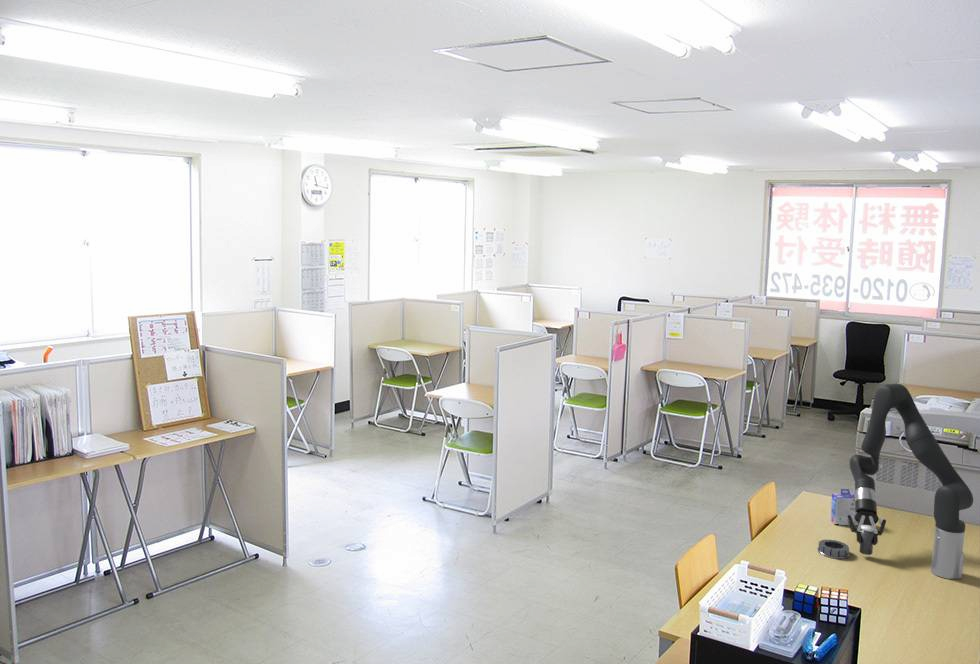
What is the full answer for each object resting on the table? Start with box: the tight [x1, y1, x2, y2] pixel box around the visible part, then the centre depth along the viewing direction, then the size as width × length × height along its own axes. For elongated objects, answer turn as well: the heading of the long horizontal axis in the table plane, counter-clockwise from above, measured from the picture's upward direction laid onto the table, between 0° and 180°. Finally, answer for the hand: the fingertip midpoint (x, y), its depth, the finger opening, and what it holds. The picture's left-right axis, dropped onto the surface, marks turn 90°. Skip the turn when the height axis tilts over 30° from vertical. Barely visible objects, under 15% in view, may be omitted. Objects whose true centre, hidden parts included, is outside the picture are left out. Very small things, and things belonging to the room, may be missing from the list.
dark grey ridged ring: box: [817, 539, 850, 560], centre depth 298 cm, size 11×11×3 cm
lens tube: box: [859, 525, 875, 556], centre depth 294 cm, size 5×5×10 cm
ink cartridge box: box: [830, 488, 859, 526], centre depth 328 cm, size 10×6×14 cm, turn 89°
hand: (867, 543), depth 292 cm, fingers closed on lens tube, 4 cm apart
